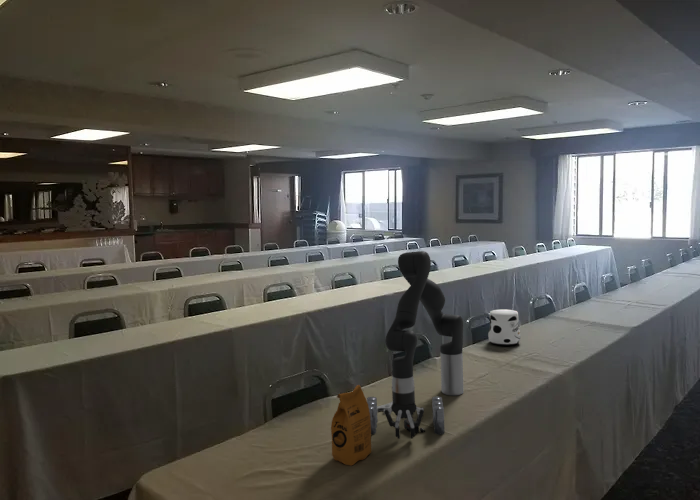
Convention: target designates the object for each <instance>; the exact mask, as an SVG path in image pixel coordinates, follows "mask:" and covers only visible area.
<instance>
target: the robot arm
mask: <svg viewBox="0 0 700 500" xmlns="http://www.w3.org/2000/svg"><path fill="white" fill-rule="evenodd" d="M397 267H398V269H399V272H400V273H401V275H402V277H403V278H404V279H405V281H406V282H407V283H408V284H409V287H408V288H407V290H406V291H405V292H404V293H403V294H402V296H401V297H400V298H399V301H398V303H397V307H396V308H397V309H396V312H395V317H394V320H393V322H392V324H391V326H390V328H389V329H388V331H387V333H386V336H385V342H384V343H385V346H386V348H387V350H389V351H391V352H404V353H405V355H403V356H398V357H395V358H393V359H392V361H391V372H392V373H391V374H392V376H391V377H392V378H391V390H392V391H391V392H392V401H393V404H392V406H391V407H390V408H385V410H384V411H383V414H384V413H385V414H384V415H385V418H386V419H387V422H388V424H389V427H393V428H394V429H395V430H394V434H395V437H396V438H397V439H398V440H399V439H400V434H401V433H400V432H401V431H400V422H401V420H403V419H408V420H409V423H410V432H411V433H410V432H409V433H410V440H411V439H414V437H415V436H416V434H415V427H417V426H419V427H420V425H421V423H422V419H423V417H424V413H425V410H424V407H418V406H417V405H416V397H415V396H416V394H415V388H416V387H415V380H414V378H415V377H414V358H415V357H414V356H415V353H416V349H417V347H418V346H417V345H418V335H416V333H415V331H413V330H405V329H410V328H413V327H414V326H415V324H416V321H417V320H416V319H417V315H418V309H419V304H420V303H421V305H422V306H423V307H424V309H425V310H426V312H427V314H428V316H429V318H430V319H431V323H432V325H433V327H434V329H435V331H436V332H437V334H438V335H439V336H443V337H449V338H451V341H449V342H445V343H442V344H441V345H440V348H439V349H440V350H439V351H440V353H439V354H440V381H441V382H440V384H441V385H440V386H441V393H442V394H443V395H447V396H459V395H462V394H464V361H463V359H464V358H463V357H464V356H463V346H464V321H463V318H462V316H461V315H460V314H459V315H458V314H447V313H446V314H445V313H444V312H443V311H442V310H443V309H444V306H445V305H446V304H445V303H446V297H445V295H444V292H443V291H442V289H441V288H440V286H439V285H438V284H437V283H436V282H435V281H434V280H431V279H430V278H429V276H430V271H431V267H432V261H431V257H430V255H429V253H428V252H427V251H424V250H417V251H409V252H403V253H402V254H400V255H399V256H398V259H397ZM391 411H392V412H393V414H395V416H396V417H395V421H394V420H393V417H392V415H391V414H392V412H391ZM415 412H416V413H417V418H416V420H415V422H414V418H413V415H414V414H415Z"/></svg>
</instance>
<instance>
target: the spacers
mask: <svg viewBox="0 0 700 500" xmlns="http://www.w3.org/2000/svg"><path fill="white" fill-rule="evenodd" d="M431 399H432V400H431V401H432V403H431V406H432V423H433V424H432V425H433V432H434V434H435V435H437V436H438V435H439V436H441V435H442V436H443V435H444V434H445V433H446V432H445V408H444V402H443V397H442V396H433V397H432V398H431ZM366 401H367V403H368V407H369V413H370V423H371V435H375V434H376V433H377V427H378V424H377V423H378V422H379V421H378V412H377V406H378V400H377V397H376V396H367V398H366Z"/></svg>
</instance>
